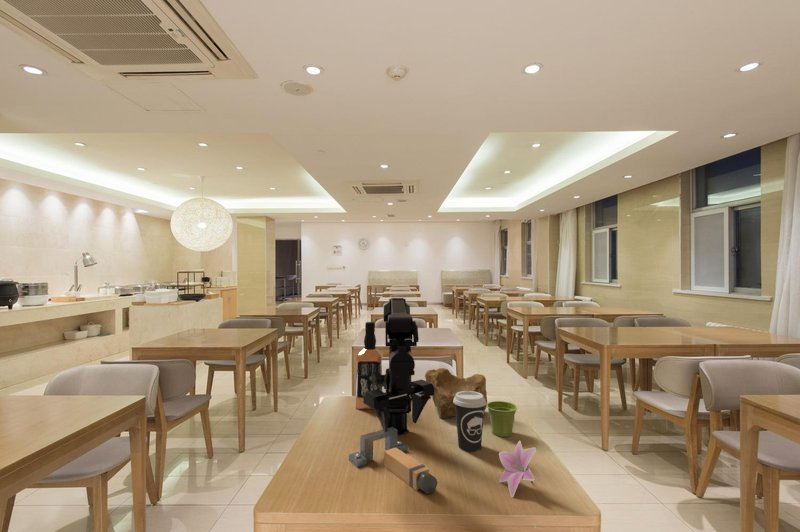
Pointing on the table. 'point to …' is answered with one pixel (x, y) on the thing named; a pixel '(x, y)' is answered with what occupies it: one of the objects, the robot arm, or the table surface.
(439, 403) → the rough brown rock
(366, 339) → the whiskey bottle
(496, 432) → the plant pot
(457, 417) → the coffee cup
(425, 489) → the tan bar
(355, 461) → the mounting bracket
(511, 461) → the lily
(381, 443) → the table surface
